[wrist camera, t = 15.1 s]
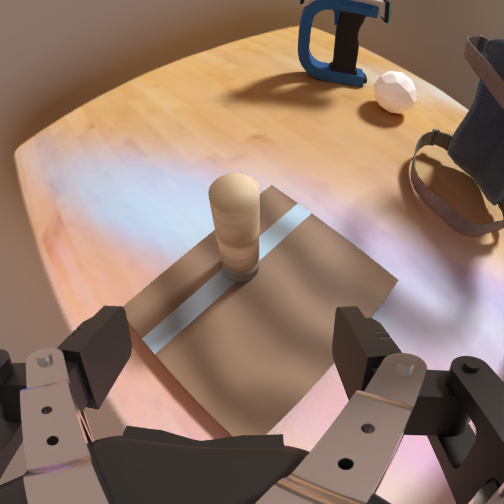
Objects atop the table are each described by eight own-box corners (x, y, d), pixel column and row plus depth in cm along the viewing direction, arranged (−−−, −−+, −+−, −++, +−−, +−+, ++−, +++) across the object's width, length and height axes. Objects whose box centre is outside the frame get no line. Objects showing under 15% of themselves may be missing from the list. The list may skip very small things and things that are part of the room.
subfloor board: (271, 193, 38) (271, 184, 37) (393, 286, 32) (398, 279, 31) (124, 315, 31) (119, 309, 29) (248, 449, 24) (248, 450, 23)
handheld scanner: (375, 90, 52) (394, 2, 36) (294, 78, 54) (300, -14, 37) (372, 80, 54) (388, -2, 38) (295, 69, 56) (301, -18, 40)
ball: (390, 127, 50) (395, 111, 43) (364, 93, 51) (365, 74, 44) (420, 109, 48) (429, 92, 41) (395, 76, 49) (399, 56, 41)
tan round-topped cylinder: (241, 243, 33) (235, 166, 24) (266, 265, 32) (270, 191, 22) (215, 265, 32) (198, 192, 22) (240, 289, 30) (232, 220, 21)
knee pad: (521, 212, 37) (597, 100, 16) (468, 265, 33) (586, 112, 11) (452, 138, 46) (499, 21, 24) (382, 166, 41) (433, 1, 20)
